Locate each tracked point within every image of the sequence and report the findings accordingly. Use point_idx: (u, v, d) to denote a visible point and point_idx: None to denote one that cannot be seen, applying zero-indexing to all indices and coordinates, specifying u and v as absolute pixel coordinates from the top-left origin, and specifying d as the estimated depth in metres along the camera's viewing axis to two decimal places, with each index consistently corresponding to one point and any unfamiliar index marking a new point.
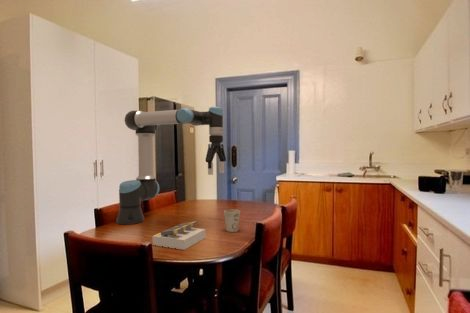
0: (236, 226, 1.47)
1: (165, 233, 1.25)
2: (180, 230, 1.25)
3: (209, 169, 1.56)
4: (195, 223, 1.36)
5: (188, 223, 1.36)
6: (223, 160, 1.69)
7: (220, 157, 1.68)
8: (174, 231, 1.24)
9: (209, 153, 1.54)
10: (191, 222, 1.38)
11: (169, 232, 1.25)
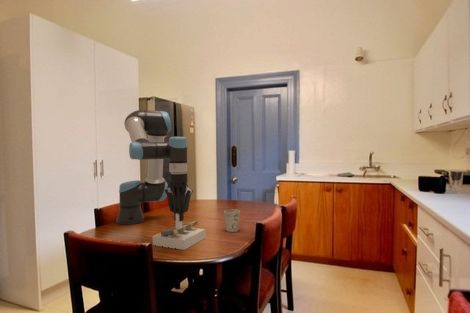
0: (236, 226, 1.47)
1: (165, 233, 1.25)
2: (180, 230, 1.25)
3: None
4: (195, 223, 1.36)
5: (188, 223, 1.36)
6: (178, 211, 1.24)
7: None
8: (174, 231, 1.24)
9: None
10: (191, 222, 1.38)
11: (169, 232, 1.25)
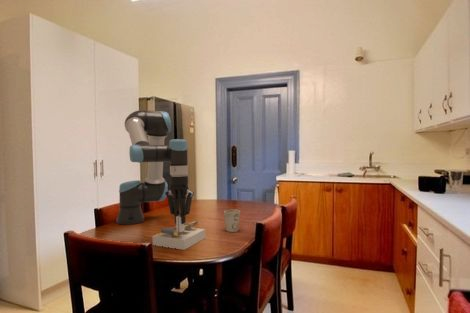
0: (236, 226, 1.47)
1: (165, 232, 1.25)
2: (180, 233, 1.25)
3: None
4: (195, 223, 1.36)
5: (188, 223, 1.36)
6: (180, 214, 1.23)
7: None
8: (174, 232, 1.24)
9: None
10: (191, 222, 1.38)
11: (169, 232, 1.25)
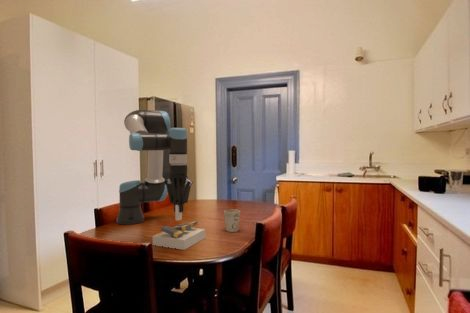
0: (236, 226, 1.47)
1: (165, 231, 1.25)
2: (180, 235, 1.25)
3: None
4: (195, 223, 1.36)
5: (188, 223, 1.36)
6: (178, 202, 1.24)
7: None
8: (174, 234, 1.24)
9: None
10: (191, 222, 1.38)
11: (169, 232, 1.25)
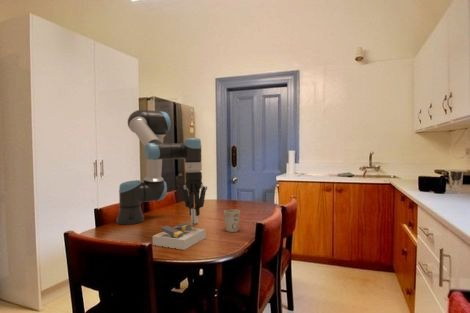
0: (236, 226, 1.47)
1: (165, 231, 1.25)
2: (180, 235, 1.25)
3: None
4: (195, 223, 1.36)
5: (188, 223, 1.36)
6: (195, 206, 1.34)
7: None
8: (174, 234, 1.24)
9: None
10: None
11: (169, 232, 1.25)
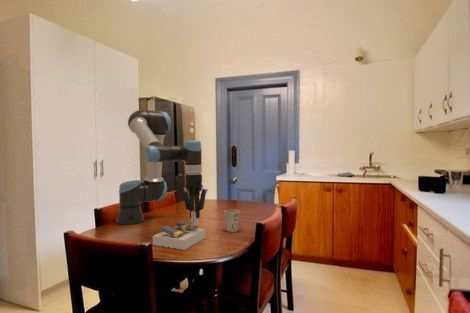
0: (236, 226, 1.47)
1: (165, 231, 1.25)
2: (180, 235, 1.25)
3: None
4: (195, 226, 1.36)
5: None
6: (195, 209, 1.34)
7: None
8: (174, 234, 1.24)
9: None
10: None
11: (169, 232, 1.25)
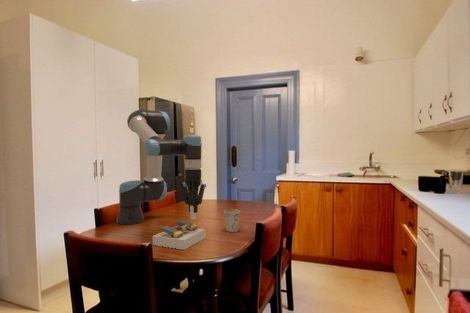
0: (236, 226, 1.47)
1: (165, 231, 1.25)
2: (180, 235, 1.25)
3: None
4: (195, 228, 1.36)
5: None
6: (193, 203, 1.35)
7: None
8: (174, 234, 1.24)
9: None
10: (192, 224, 1.37)
11: (169, 232, 1.25)
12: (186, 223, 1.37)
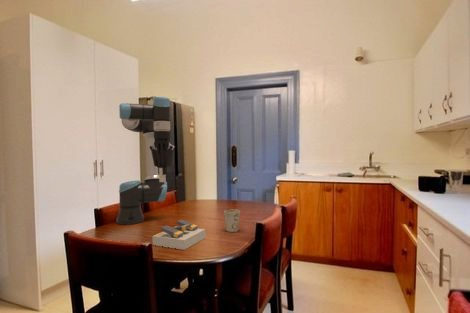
0: (236, 226, 1.47)
1: (165, 231, 1.25)
2: (180, 235, 1.25)
3: None
4: (195, 228, 1.36)
5: None
6: (162, 165, 1.35)
7: None
8: (174, 234, 1.24)
9: None
10: (192, 224, 1.37)
11: (169, 232, 1.25)
12: (186, 223, 1.37)
